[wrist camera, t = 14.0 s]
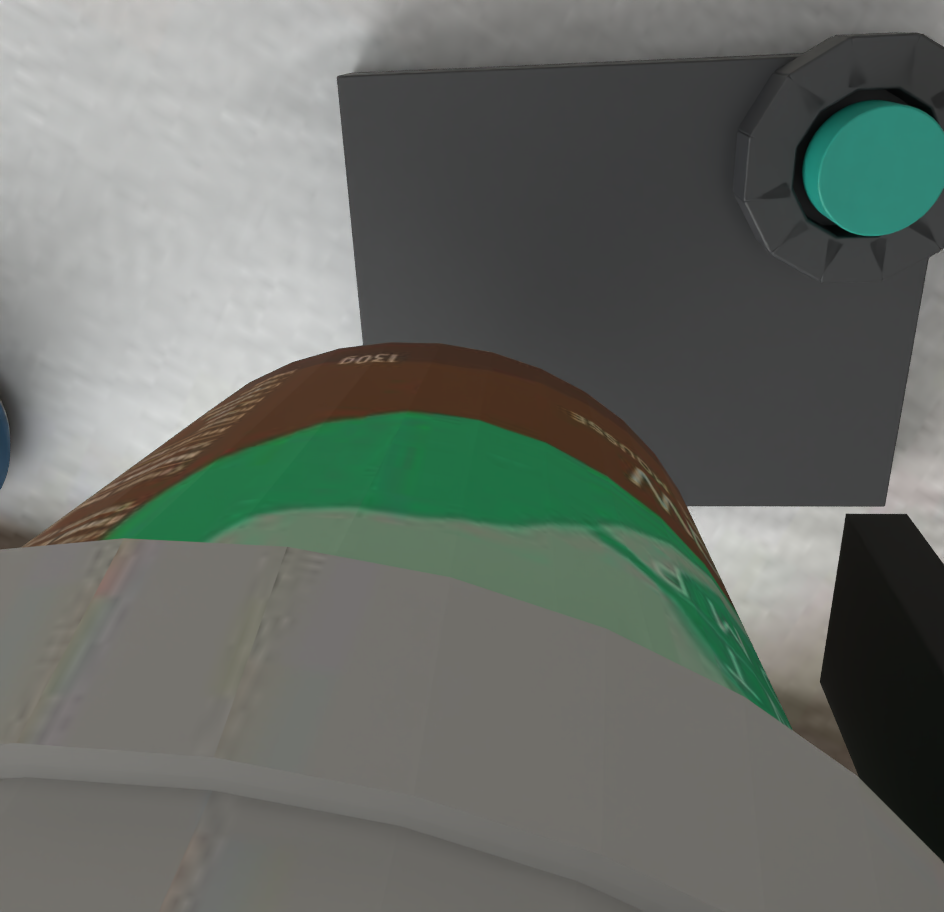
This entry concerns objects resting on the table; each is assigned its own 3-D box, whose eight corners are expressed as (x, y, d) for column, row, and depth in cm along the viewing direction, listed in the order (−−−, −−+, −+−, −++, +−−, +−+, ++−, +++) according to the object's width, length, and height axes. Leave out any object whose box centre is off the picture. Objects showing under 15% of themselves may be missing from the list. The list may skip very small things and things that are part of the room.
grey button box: (957, 28, 24) (1019, 28, 21) (880, 479, 30) (919, 533, 26) (349, 55, 25) (320, 59, 22) (388, 479, 31) (369, 530, 28)
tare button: (935, 97, 22) (962, 101, 20) (915, 222, 23) (938, 234, 22) (808, 102, 22) (826, 107, 21) (795, 225, 23) (811, 238, 22)
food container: (927, 682, 15) (1528, 1690, 6) (621, 837, 17) (712, 1768, 8) (455, 49, 11) (104, 96, 2) (136, 337, 13) (-736, 978, 4)
